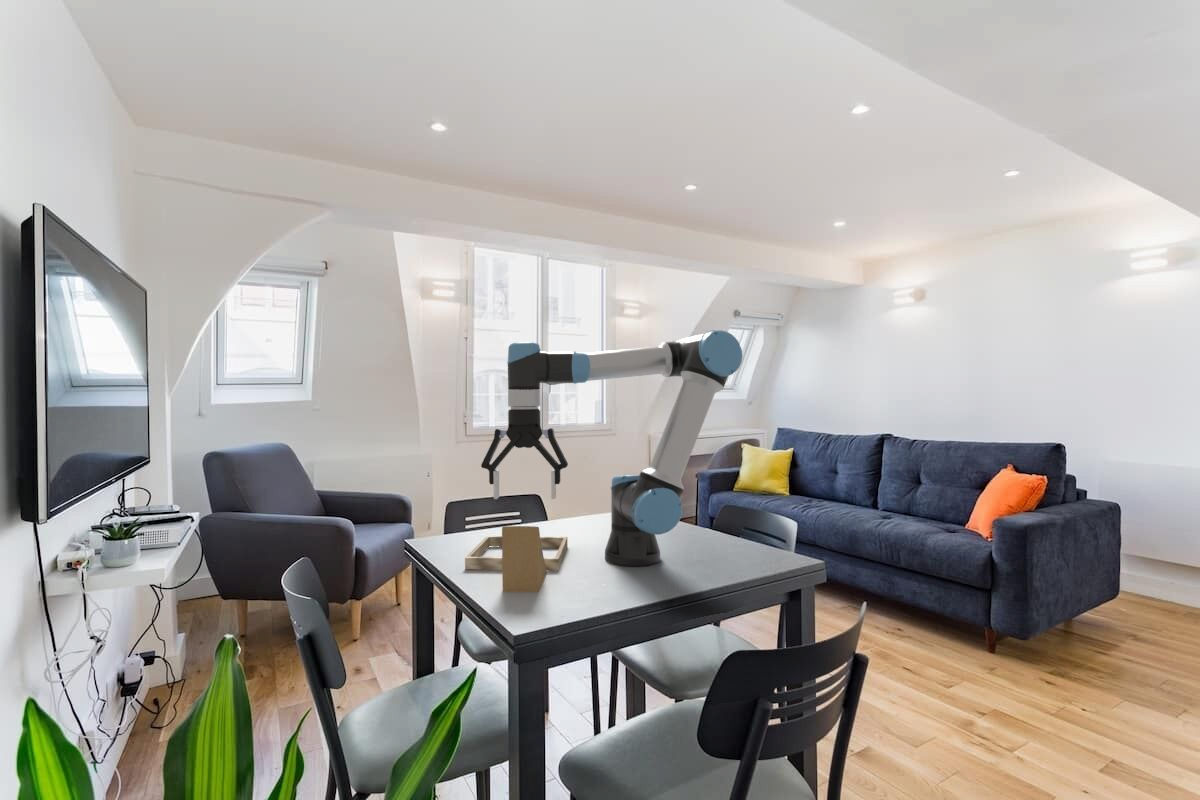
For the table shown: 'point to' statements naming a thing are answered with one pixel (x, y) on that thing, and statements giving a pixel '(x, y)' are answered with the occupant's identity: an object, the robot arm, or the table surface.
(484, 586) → the table surface
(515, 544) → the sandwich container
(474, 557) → the pale wooden box
